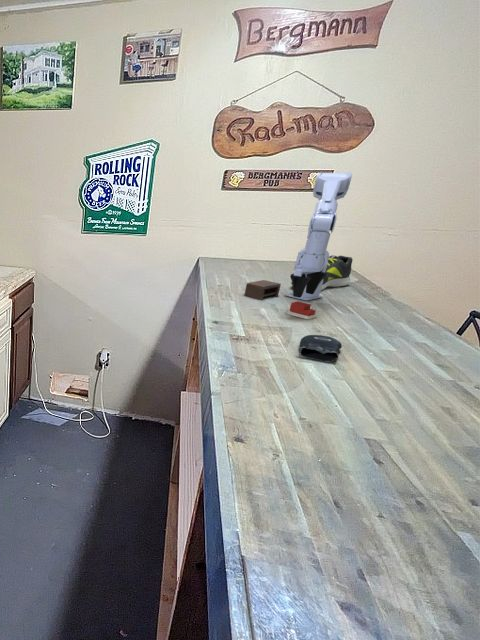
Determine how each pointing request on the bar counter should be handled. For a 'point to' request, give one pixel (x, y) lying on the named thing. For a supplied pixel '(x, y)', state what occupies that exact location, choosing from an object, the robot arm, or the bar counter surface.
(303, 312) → the shoe
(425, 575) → the bar counter surface
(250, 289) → the box
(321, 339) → the electronic device
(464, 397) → the bar counter surface
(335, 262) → the running shoe
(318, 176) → the robot arm
